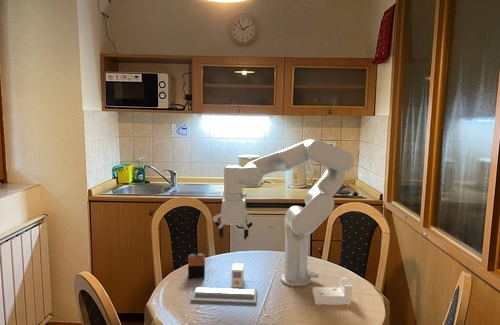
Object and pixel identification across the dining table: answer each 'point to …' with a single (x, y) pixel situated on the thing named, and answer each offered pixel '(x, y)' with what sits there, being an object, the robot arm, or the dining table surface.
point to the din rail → (224, 292)
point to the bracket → (334, 294)
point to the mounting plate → (224, 299)
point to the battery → (196, 266)
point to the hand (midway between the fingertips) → (233, 237)
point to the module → (237, 275)
